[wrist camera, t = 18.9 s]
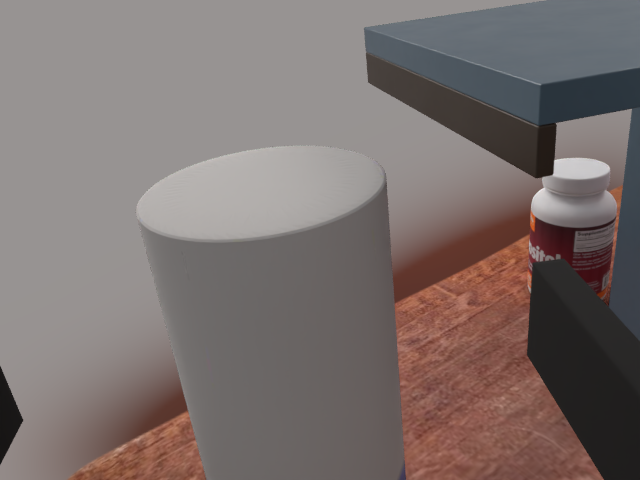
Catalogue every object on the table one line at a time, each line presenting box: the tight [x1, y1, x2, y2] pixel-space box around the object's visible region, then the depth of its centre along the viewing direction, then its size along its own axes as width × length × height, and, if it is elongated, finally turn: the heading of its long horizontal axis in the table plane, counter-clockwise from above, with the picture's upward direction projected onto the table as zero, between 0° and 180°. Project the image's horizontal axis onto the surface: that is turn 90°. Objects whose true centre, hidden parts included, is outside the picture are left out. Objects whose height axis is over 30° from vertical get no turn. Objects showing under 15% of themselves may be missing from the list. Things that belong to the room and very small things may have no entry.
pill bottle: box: [528, 158, 617, 300], centre depth 48 cm, size 6×6×11 cm
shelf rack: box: [364, 0, 640, 341], centre depth 31 cm, size 18×16×24 cm
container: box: [136, 146, 406, 480], centre depth 29 cm, size 10×10×20 cm
